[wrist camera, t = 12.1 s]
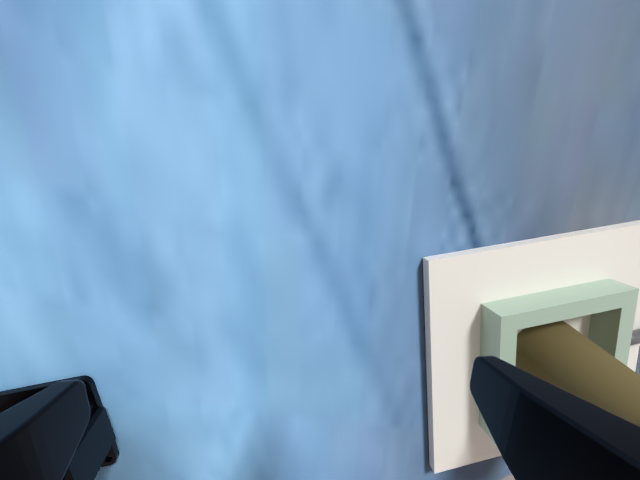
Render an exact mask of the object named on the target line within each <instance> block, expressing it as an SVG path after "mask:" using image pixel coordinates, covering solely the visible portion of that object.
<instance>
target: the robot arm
mask: <svg viewBox="0 0 640 480" xmlns="http://www.w3.org/2000/svg"><path fill="white" fill-rule="evenodd" d="M470 391H471V394H472V396H473V398H474V400H475V402H476V404H477V406H478V409H479V411H480V413H481V415H482V417H483V419H484V421H485V423H486V425H487V427H488V429H489V431H490V433H491V435H492V437H493V439H494V441H495V443H496V446H497V448H498V449H499V451H500V453H501V455H502V457H503V459H504V461H505V463H506V464H507V466H508V468H509V470H510V471H511V473H512V475H513V476H514V478H515V480H640V427H639V426H637V425H635V424H633V423H631V422H629V421H627V420H625V419H623V418H621V417H619V416H616V415H614V414H612V413H610V412H608V411H606V410H604V409H602V408H600V407H598V406H596V405H594V404H592V403H590V402H588V401H586V400H584V399H582V398H580V397H577V396H575V395H573V394H571V393H569V392H567V391H565V390H563V389H561V388H559V387H557V386H555V385H553V384H551V383H549V382H547V381H545V380H543V379H540V378H538V377H536V376H534V375H532V374H530V373H528V372H526V371H524V370H522V369H520V368H518V367H516V366H514V365H512V364H510V363H508V362H506V361H503V360H501V359H499V358H497V357H495V356H491V355H490V356H478V357H476V358H475V360H474V363H473V369H472V374H471V379H470ZM118 455H119V451H118V448H117V445H116V443H115V435H114V433H113V430H112V427H111V424H110V421H109V418H108V416H107V413H106V410H105V408H104V407H103V406H102V403H101V400H100V397H99V394H98V392H97V389H96V386H95V383H94V381H93V379H92V378H91V377H89V376H78V377H73V378H68V379H63V380H58V381H53V382H48V383H42V384H37V385H32V386H27V387H22V388H17V389H12V390H6V391H1V392H0V480H94V478H95V477H96V475H97V473H98V471H99V469H100V467H104V466H108V465H111V464H113V463H114V462H115V461H116V459H117V457H118ZM109 456H111V457H109Z"/></svg>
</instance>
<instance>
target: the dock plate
mask: <svg viewBox="0 0 640 480" xmlns="http://www.w3.org/2000/svg"><path fill="white" fill-rule="evenodd" d="M423 281H424V311H425V342H426V372H427V403H428V433H429V464H430V466H431V468H432V470H433V472H434V474H435V473H439V472H443V471H446V470H450V469H454V468H457V467H461V466H465V465H469V464H472V463H476V462H480V461H483V460H487V459H491V458H495V457H498V456H502V455H501V453H500V451H499V449H498V448H497V446H496V443H495V441H494V439H493V437H492V435H491V433H490V431H489V429H488V427H487V425H486V423H485V421H484V419H483V417H482V415H481V413H480V411H479V409H478V406H477V404H476V402H475V400H474V398H473V396H472V394H471V391H470V379H471V374H472V369H473V363H474V360H475V358H476V357H478V356H490V355H491V356H495V357H497V358H499V359H501V360H503V361H506V362H508V363H510V364H512V365H514V366H515V365H516V346H517V335H518V333H519V332H521V331H522V330H523V329H524V328H529V327H534V326H538V325H543V324H548V323H553V322H557V321H562V320H563V321H564V322H566V323H567V324H569V325H570V326H572V327H573V328H574V329H576V330H577V331H579V332H580V333H581V334H583V335H584V336H585V337H587V338H588V339H590V340H591V341H592V342H594V343H595V344H597V345H598V346H599V347H601V348H602V349H604V350H605V351H606V352H608V353H609V354H611V355H612V356H613V357H615V358H616V359H618V360H619V361H620V362H622V363H623V364H625V365H626V366H627V367H629V368H630V369H632V370H633V371H634V372H635V369H636V363H637V357H638V351H639V345H640V220H638V221H632V222H626V223H620V224H615V225H609V226H603V227H597V228H591V229H585V230H580V231H574V232H568V233H562V234H556V235H550V236H545V237H539V238H533V239H527V240H521V241H515V242H510V243H504V244H498V245H492V246H486V247H480V248H474V249H469V250H463V251H457V252H451V253H445V254H439V255H434V256H428V257H423Z"/></svg>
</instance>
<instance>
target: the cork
mask: <svg viewBox="0 0 640 480" xmlns="http://www.w3.org/2000/svg"><path fill="white" fill-rule="evenodd" d="M515 366H516V367H518V368H520V369H522V370H524V371H526V372H528V373H530V374H532V375H534V376H536V377H538V378H540V379H543V380H545V381H547V382H549V383H551V384H553V385H555V386H557V387H559V388H561V389H563V390H565V391H567V392H569V393H571V394H573V395H575V396H577V397H580V398H582V399H584V400H586V401H588V402H590V403H592V404H594V405H596V406H598V407H600V408H602V409H604V410H606V411H608V412H610V413H612V414H614V415H616V416H619V417H621V418H623V419H625V420H627V421H629V422H631V423H633V424H635V425H637V426H639V427H640V375H638V374H637V373H636V372H634V371H633V370H632V369H630V368H629V367H627V366H626V365H625V364H623V363H622V362H620V361H619V360H618V359H616V358H615V357H613V356H612V355H611V354H609V353H608V352H606V351H605V350H604V349H602V348H601V347H599V346H598V345H597V344H595V343H594V342H592V341H591V340H590V339H588V338H587V337H585V336H584V335H583V334H581V333H580V332H579V331H577V330H576V329H574V328H573V327H572V326H570V325H569V324H567V323H566V322H564V321H563V320H562V321H557V322H553V323H548V324H543V325H538V326H534V327H529V328H524V329H523V330H522V331H521V332H519V333H518V335H517V346H516V365H515Z"/></svg>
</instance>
